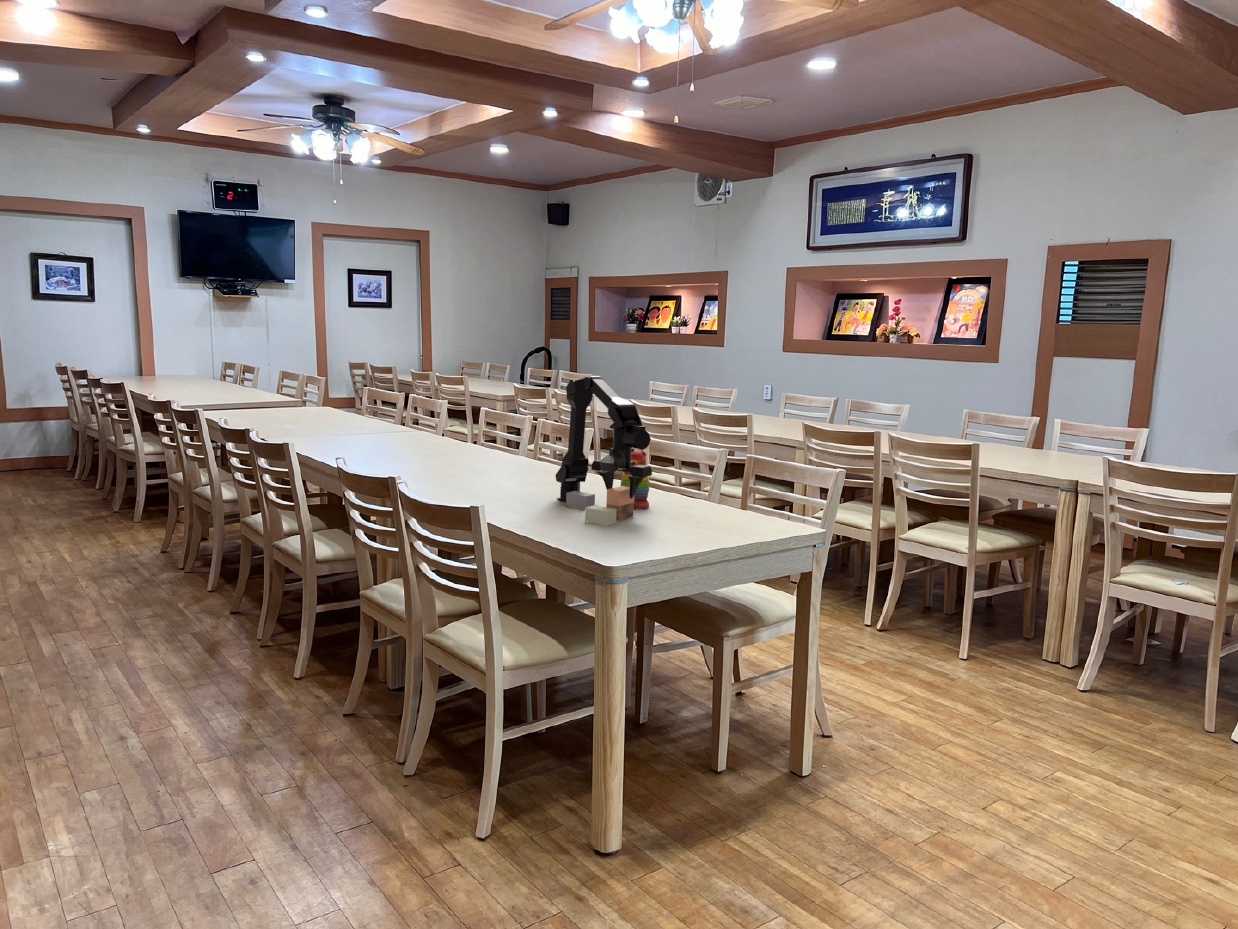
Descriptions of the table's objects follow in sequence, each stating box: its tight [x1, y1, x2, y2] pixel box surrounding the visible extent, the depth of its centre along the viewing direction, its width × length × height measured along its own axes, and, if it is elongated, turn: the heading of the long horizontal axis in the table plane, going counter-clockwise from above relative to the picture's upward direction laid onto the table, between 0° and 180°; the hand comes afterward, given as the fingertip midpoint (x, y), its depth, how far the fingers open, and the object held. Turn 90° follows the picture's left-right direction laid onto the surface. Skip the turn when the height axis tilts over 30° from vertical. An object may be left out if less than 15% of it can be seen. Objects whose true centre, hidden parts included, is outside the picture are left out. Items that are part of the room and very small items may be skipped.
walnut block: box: [605, 503, 635, 521], centre depth 265 cm, size 8×4×4 cm, turn 145°
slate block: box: [565, 491, 596, 510], centre depth 278 cm, size 8×4×4 cm, turn 55°
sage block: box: [584, 504, 617, 527], centre depth 257 cm, size 8×4×4 cm, turn 55°
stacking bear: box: [620, 450, 650, 510], centre depth 283 cm, size 11×10×18 cm
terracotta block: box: [606, 485, 634, 506], centre depth 264 cm, size 8×4×4 cm, turn 144°
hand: (620, 496), depth 264 cm, fingers open, 8 cm apart
